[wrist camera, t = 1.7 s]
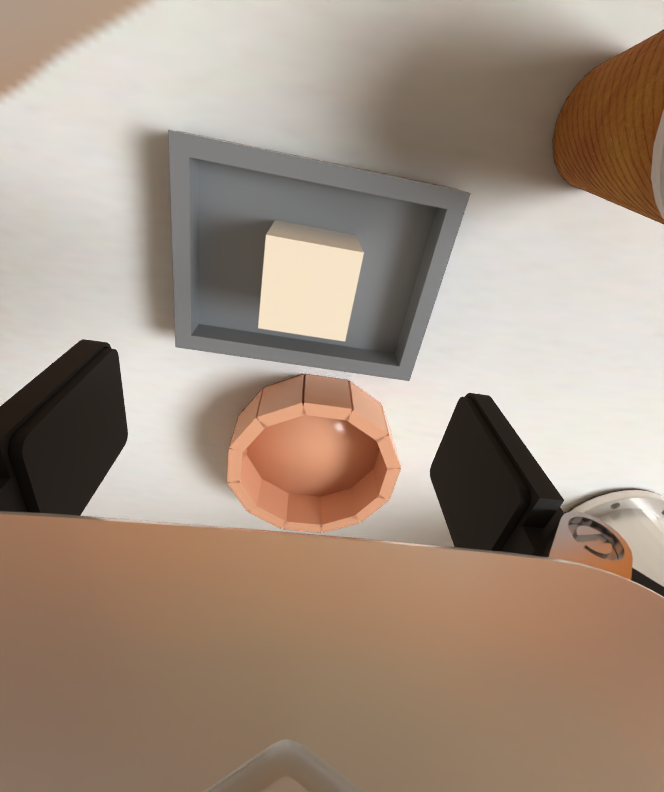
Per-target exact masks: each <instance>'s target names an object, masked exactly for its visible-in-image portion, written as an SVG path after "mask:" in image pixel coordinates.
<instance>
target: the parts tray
mask: <svg viewBox="0 0 664 792" xmlns="http://www.w3.org/2000/svg"><path fill="white" fill-rule="evenodd" d="M168 136H169V166H170V196H171V227H172V257H173V287H174V317H175V347H178V348H185V349H192V350H199V351H206V352H213V353H220V354H227V355H233V356H240V357H247V358H254V359H261V360H268V361H275V362H282V363H289V364H296V365H303V366H309V367H316V368H323V369H330V370H337V371H344V372H351V373H358V374H365V375H372V376H378V377H385V378H392V379H399V380H406V381H409V380H410V377H411V374H412V371H413V368H414V365H415V362H416V359H417V356H418V353H419V350H420V346H421V343H422V340H423V337H424V334H425V331H426V328H427V325H428V322H429V319H430V316H431V313H432V310H433V307H434V304H435V300H436V297H437V294H438V291H439V288H440V285H441V282H442V279H443V276H444V273H445V270H446V267H447V264H448V261H449V257H450V254H451V251H452V248H453V245H454V242H455V239H456V236H457V233H458V230H459V227H460V224H461V221H462V218H463V215H464V211H465V208H466V205H467V202H468V199H469V196H470V193H469V192H465V191H461V190H458V189H453V188H448V187H444V186H439V185H434V184H429V183H425V182H420V181H415V180H410V179H405V178H401V177H396V176H391V175H386V174H381V173H377V172H372V171H367V170H362V169H358V168H353V167H348V166H343V165H338V164H334V163H329V162H324V161H319V160H314V159H310V158H305V157H300V156H295V155H291V154H286V153H281V152H276V151H271V150H267V149H262V148H257V147H252V146H247V145H243V144H238V143H233V142H228V141H224V140H219V139H214V138H209V137H204V136H200V135H195V134H190V133H185V132H179V131H173V130H168ZM275 220H278V221H284V222H289V223H294V224H300V225H305V226H310V227H316V228H321V229H326V230H332V231H337V232H342V233H348V234H353V235H356V236H357V238H358V241H359V243H360V245H361V247H362V249H363V251H364V255H363V260H362V265H361V269H360V274H359V279H358V283H357V288H356V293H355V297H354V302H353V307H352V312H351V316H350V321H349V326H348V330H347V335H346V340H345V341H338V340H332V339H325V338H319V337H312V336H306V335H299V334H293V333H286V332H280V331H273V330H267V329H260V328H258V322H259V311H260V299H261V287H262V275H263V264H264V252H265V240H266V234H267V232H268V231H269V229H270V228H271V226H272V224H273V223H274V221H275Z"/></svg>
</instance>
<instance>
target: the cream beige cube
mask: <svg viewBox="0 0 664 792" xmlns="http://www.w3.org/2000/svg"><path fill="white" fill-rule="evenodd" d="M363 255H364V251H363V249H362V247H361V245H360V243H359V241H358V238H357V236H356V235H353V234H348V233H342V232H337V231H332V230H326V229H321V228H316V227H310V226H305V225H300V224H294V223H289V222H284V221H278V220H275V221H274V223H273V224H272V226H271V228H270V229H269V231H268V232H267V234H266V240H265V252H264V264H263V275H262V287H261V299H260V311H259V322H258V328H260V329H267V330H273V331H280V332H286V333H293V334H299V335H306V336H312V337H319V338H325V339H332V340H338V341H345V340H346V335H347V330H348V326H349V321H350V316H351V312H352V307H353V302H354V297H355V293H356V288H357V283H358V279H359V274H360V269H361V265H362V260H363Z"/></svg>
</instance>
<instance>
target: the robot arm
mask: <svg viewBox="0 0 664 792" xmlns="http://www.w3.org/2000/svg"><path fill="white" fill-rule="evenodd" d="M127 436H128V430H127V422H126V413H125V405H124V397H123V389H122V381H121V372H120V364H119V356H118V352H117V350H115V349H111V346H110V344H108V343H106V342H99V341H92V340H84V339H83V340H81V341H79V342H78V343H77V344H75V345H74V346H73V347H72V348H71V349H69V350H68V351H67V352H66V353H65V354H63V355H62V356H61V357H60V358H58V359H57V360H56V361H55V362H54V363H52V364H51V365H50V366H49V367H48V368H46V369H45V370H44V371H43V372H42V373H40V374H39V375H38V376H37V377H35V378H34V379H33V380H32V381H31V382H29V383H28V384H27V385H26V386H25V387H23V388H22V389H21V390H20V391H18V392H17V393H16V394H15V395H14V396H12V397H11V398H10V399H9V400H8V401H6V402H5V403H4V404H3V405H1V406H0V792H664V497H662V496H661V495H659V494H656V493H653V492H650V491H642V490H625V491H618V492H612V493H609V494H605V495H601V496H598V497H596V498H593V499H591V500H588V501H586V502H584V503H582V504H581V505H579V506H577V507H575V508H574V509H572V510H571V511H569V512H567V513H565V514H564V512H563V511H562V509H561V508H560V506H561V504H562V503H563V501H564V499H563V498H562V497H561V495H560V494H559V492H558V491H557V490H556V488H555V487H554V485H553V484H552V482H551V481H550V480H549V478H548V477H547V475H546V474H545V473H544V471H543V470H542V468H541V467H540V466H539V464H538V463H537V461H536V460H535V459H534V457H533V456H532V454H531V453H530V451H529V450H528V449H527V447H526V446H525V444H524V443H523V442H522V440H521V439H520V437H519V436H518V435H517V433H516V432H515V430H514V429H513V428H512V426H511V425H510V423H509V422H508V420H507V419H506V418H505V416H504V415H503V413H502V412H501V411H500V409H499V408H498V406H497V405H496V404H495V402H494V401H493V399H492V398H491V397H490V396H488V395H481V394H474V393H468V394H467V395H466V396H465V397H461V398H460V399H459V401H458V403H457V405H456V407H455V410H454V412H453V415H452V417H451V419H450V422H449V424H448V427H447V429H446V431H445V434H444V436H443V439H442V441H441V443H440V446H439V448H438V450H437V453H436V455H435V458H434V460H433V462H432V465H431V468H430V477H431V481H432V484H433V486H434V489H435V492H436V495H437V498H438V501H439V503H440V506H441V509H442V512H443V515H444V518H445V520H446V523H447V526H448V529H449V532H450V535H451V538H452V540H453V543H454V546H455V547H448V546H437V545H426V544H415V543H404V542H392V541H381V540H370V539H359V538H348V537H336V536H324V535H313V534H301V533H289V532H277V531H266V530H254V529H242V528H230V527H217V526H205V525H192V524H180V523H167V522H154V521H142V520H129V519H117V518H104V517H91V516H80V515H81V513H82V512H83V510H84V509H85V507H86V506H87V504H88V502H89V501H90V499H91V498H92V496H93V495H94V493H95V491H96V490H97V488H98V487H99V485H100V484H101V482H102V480H103V479H104V477H105V476H106V474H107V473H108V471H109V469H110V468H111V466H112V465H113V463H114V462H115V460H116V458H117V457H118V455H119V454H120V452H121V451H122V449H123V447H124V446H125V444H126V441H127Z"/></svg>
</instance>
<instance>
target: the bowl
mask: <svg viewBox="0 0 664 792" xmlns="http://www.w3.org/2000/svg"><path fill="white" fill-rule="evenodd" d="M400 467H401V466H400V463H399V459H398V455H397V451H396V447H395V444H394V440H393V436H392V433H391V430H390V427H389V424H388V421H387V419H386V416H385V413H384V410H383V407H382V405H381V403H379V402H378V401H377V400H375V399H374V398H372V397H371V396H370V395H368V394H367V393H366V392H364V391H363V390H362V389H360V388H359V387H358V386H356V385H355V384H353V383H352V382H351V381H349V383H348V380H343V379H336V378H329V377H322V376H315V375H308V374H306V376H305V377H304V374H303V375H300V376H297V377H294V378H291V379H288V380H285V381H282V382H279V383H276V384H273V385H270V386H267V387H264V389H262V390H261V391H260V392H259V393H258V394H257V395H256V397H255V398H254V399H253V400H252V401H251V402H250V403H249V405H248V406H247V407H246V408H245V409H244V410H243V412H242V413H241V414H240V415H239V417H238V420H237V423H236V426H235V430H234V433H233V436H232V440H231V443H230V446H229V452H228V471H227V482H228V483H227V484H228V485H229V486H230V488H231V489H232V491H233V492H234V494H235V495H236V496H237V498H238V499H239V501H240V502H241V504H242V505H243V506H244V508H245V509H246V511H248V512H249V513H251V514H253V515H255V516H257V517H259V518H261V519H263V520H264V521H266V522H268V523H270V524H272V525H274V526H276V527H278V528H280V529H281V528H282V527H283V529H285V530H295V531H306V532H317V533H321V531H322V532H323V533H324V532H328V531H332V530H335V529H339V528H343V527H347V526H350V525H354V524H358V523H360V522H362V521H364V520H365V519H366V518H367V517H369V516H370V515H371V514H372V513H374V512H375V511H376V510H377V509H379V508H380V507H381V506H383V505H384V504H385V503H386V502H388V501H389V500H388V499H390V497H391V495H392V492H393V489H394V486H395V483H396V481H397V478H398V475H399V472H400V470H401V468H400ZM359 521H360V522H359Z"/></svg>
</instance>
